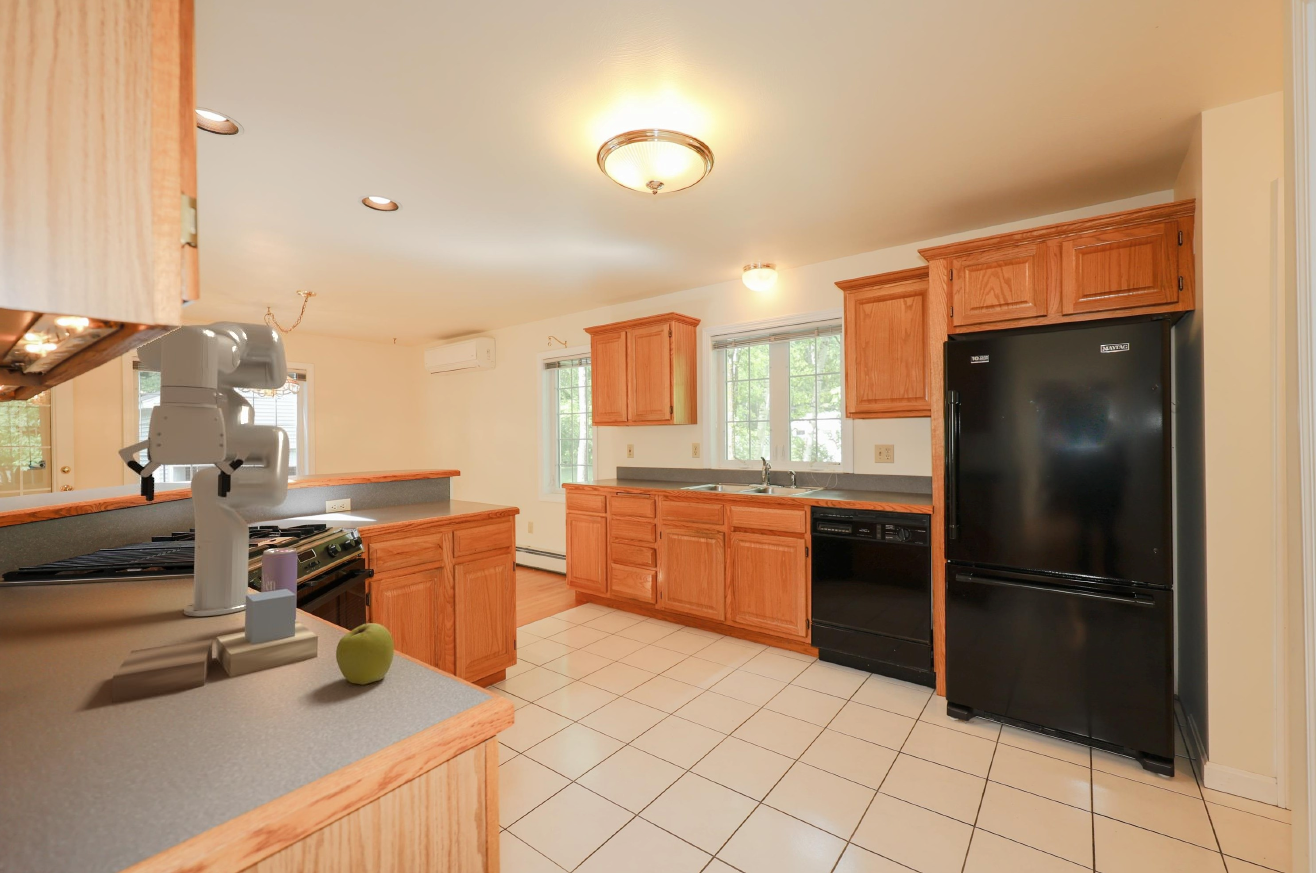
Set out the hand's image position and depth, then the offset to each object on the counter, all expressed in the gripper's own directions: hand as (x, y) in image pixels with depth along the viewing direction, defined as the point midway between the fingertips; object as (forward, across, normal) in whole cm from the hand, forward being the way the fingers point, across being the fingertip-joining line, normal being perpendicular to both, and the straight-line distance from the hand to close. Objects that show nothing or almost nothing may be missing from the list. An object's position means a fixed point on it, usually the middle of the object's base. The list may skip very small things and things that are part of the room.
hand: (187, 498), depth 96 cm
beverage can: (+28, -16, -8) cm, 33 cm away
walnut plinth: (+27, +4, +11) cm, 29 cm away
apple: (+27, -17, +34) cm, 46 cm away
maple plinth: (+27, -9, +11) cm, 31 cm away
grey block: (+23, -10, +11) cm, 28 cm away
